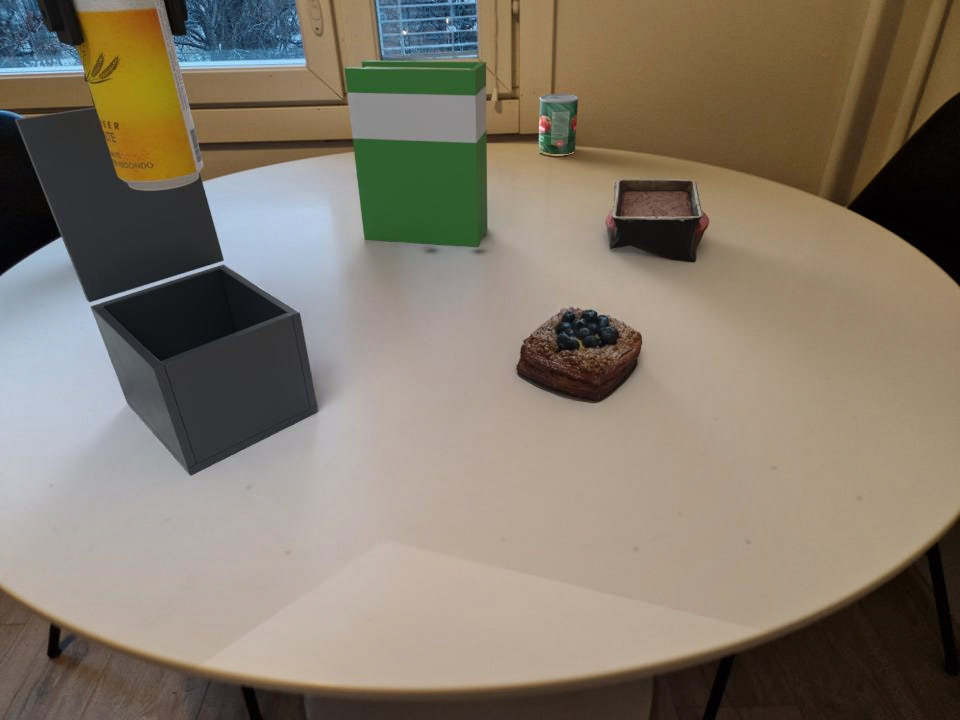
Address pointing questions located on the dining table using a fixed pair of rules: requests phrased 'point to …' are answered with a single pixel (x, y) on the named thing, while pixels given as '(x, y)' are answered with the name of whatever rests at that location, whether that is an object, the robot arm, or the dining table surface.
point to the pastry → (580, 355)
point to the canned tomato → (558, 123)
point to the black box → (209, 363)
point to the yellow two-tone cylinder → (139, 92)
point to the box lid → (114, 209)
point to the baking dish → (657, 217)
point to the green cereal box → (420, 150)
